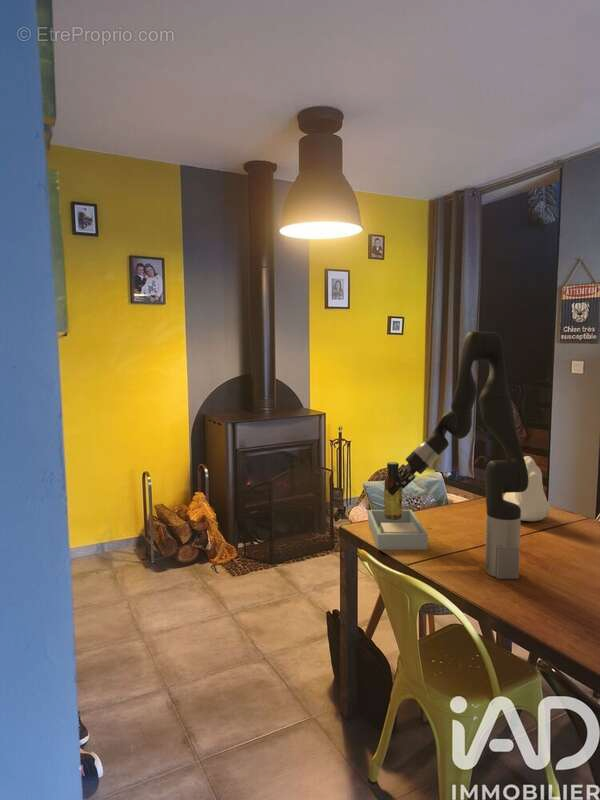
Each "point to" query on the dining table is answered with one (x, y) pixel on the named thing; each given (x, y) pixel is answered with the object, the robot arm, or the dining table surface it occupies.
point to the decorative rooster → (531, 495)
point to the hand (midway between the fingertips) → (388, 490)
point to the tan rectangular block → (398, 528)
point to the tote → (397, 539)
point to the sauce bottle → (392, 501)
